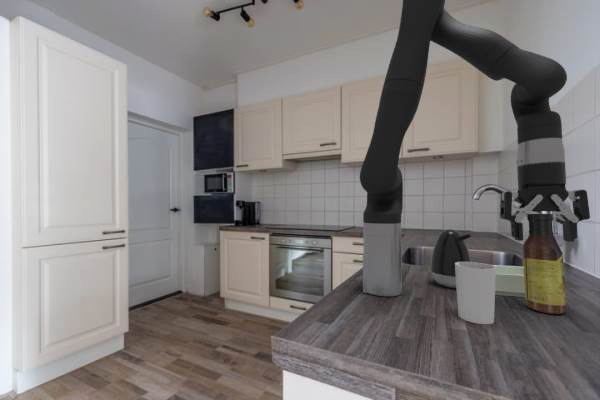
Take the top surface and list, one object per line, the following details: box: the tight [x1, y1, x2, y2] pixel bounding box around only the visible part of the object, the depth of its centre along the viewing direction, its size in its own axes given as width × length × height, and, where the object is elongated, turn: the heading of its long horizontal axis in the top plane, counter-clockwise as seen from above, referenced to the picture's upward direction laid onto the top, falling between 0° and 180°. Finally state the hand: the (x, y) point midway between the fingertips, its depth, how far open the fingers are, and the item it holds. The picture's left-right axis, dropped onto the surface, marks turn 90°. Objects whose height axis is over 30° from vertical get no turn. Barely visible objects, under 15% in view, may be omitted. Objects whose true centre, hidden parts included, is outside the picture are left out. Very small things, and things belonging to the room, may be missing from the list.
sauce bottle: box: [522, 213, 567, 315], centre depth 56 cm, size 7×6×20 cm
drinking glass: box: [455, 261, 496, 325], centre depth 52 cm, size 7×7×10 cm
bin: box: [492, 264, 525, 298], centre depth 69 cm, size 12×12×5 cm
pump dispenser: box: [429, 228, 473, 289], centre depth 73 cm, size 10×10×15 cm
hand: (543, 240), depth 56 cm, fingers open, 8 cm apart
